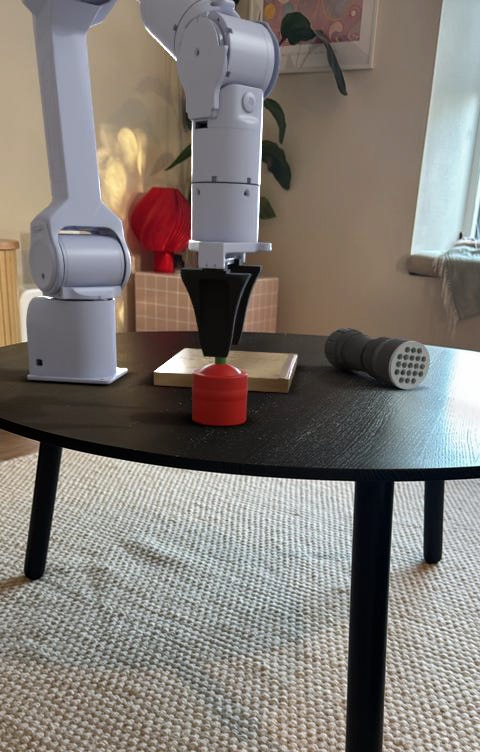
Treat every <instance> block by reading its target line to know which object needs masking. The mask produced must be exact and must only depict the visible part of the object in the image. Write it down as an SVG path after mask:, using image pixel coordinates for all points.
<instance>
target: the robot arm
mask: <svg viewBox="0 0 480 752" xmlns="http://www.w3.org/2000/svg"><path fill="white" fill-rule="evenodd" d="M118 1H119V0H21V3H22V4H23V5H24V7H26V9H27V10H28V11H29V12H30V13H31V18H32V28H33V29H32V30H33V37H34V46H35V47H34V48H35V55H36V57H35V58H36V65H37V73H38V74H37V75H38V83H39V94H40V101H41V102H40V103H41V111H42V119H43V129H44V139H45V147H46V156H47V157H46V158H47V166H48V167H47V168H48V173H49V174H48V175H49V185H50V195H51V201H50V202H49V203H48V205H46V206H45V207H44V208H43V209H42V210H41V211H39V213H38V214H37V215H35V216H34V218H33V219H32V220H31V221H30V223H29V229H30V230H29V231H30V233H29V234H30V243H29V244H30V245H29V246H30V247H29V251H28V265H29V266H28V267H29V271H30V275H31V278H32V281H33V282H34V284H35V286H37V289H39V291H40V292H41V293H42V295H40V296H34V297H32V298H31V299H30V300H29V303H28V305H27V309H26V317H25V318H26V319H25V323H26V325H25V327H26V343H27V355H28V356H27V357H28V369H29V374H27V375H26V378H27V380H28V381H29V380H30V381H43V382H44V381H46V382H60V383H61V382H62V383H63V382H64V383H78V384H79V383H80V384H96V385H97V384H98V385H110V384H112V383H113V382H115V381H116V380H118V379H119V378H121V377H122V376H124V375H126V374H127V373H128V368H127V367H118V366H117V363H118V362H117V359H118V357H117V327H116V326H117V324H116V323H117V322H116V320H117V319H116V299H115V298H121V297H122V291H123V290H124V289H125V287H126V286H127V284H128V282H129V279H130V276H131V272H132V258H131V254H130V249H129V247H128V245H127V242H126V239H125V235H124V228H123V222H122V220H121V219H120V218H119V217H118V216H117V214H116V213H114V212H113V211H112V210H111V209H110V208H109V207H108V206H107V205H106V204H105V203H104V202H103V200H102V194H101V185H100V184H101V183H100V182H101V181H100V172H99V163H98V161H99V160H98V150H97V139H96V129H95V118H94V106H93V95H92V85H91V74H90V64H89V53H88V42H87V35H88V32H89V30H90V29H91V27H94V26H96V25H98V24H101V23H103V22H104V21H105V20H106V19H107V17H108V15H109V14H110V12H111V11H112V10H113V8H114V7H115V5H116V3H117V2H118ZM136 2H138V3H139V9H140V10H139V12H140V18H141V21H142V24H143V26H144V28H145V29H146V31H147V32H148V33H149V34H150V35H151V36H152V37H153V38H154V39H155V40H156V41H157V43H159V45H161V46H162V47H163V49H164V50H165V51H166V52H168V54H169V55H170V56H171V57H172V58H173V59H174V60H175V61H176V71H177V76H178V80H179V83H180V85H181V87H182V89H183V91H184V95H185V113H187V118H188V120H190V121H191V213H190V214H191V220H190V221H191V222H190V223H191V226H190V227H191V229H190V237H191V238H190V239H189V240H188V250H189V251H192V252H197V255H198V261H197V263H198V264H197V267H181V268H180V270H179V271H180V272H179V274H180V278H181V281H182V283H183V285H184V287H185V290H186V291H187V295H188V296H189V299H190V302H191V305H192V308H193V312H194V316H195V321H196V322H195V323H196V327H197V333H198V339H199V344H200V349H202V353H203V356H204V357H221V358H227V357H228V354H229V351H231V347H232V346H239V345H240V342H241V340H242V335H243V331H244V327H245V321H246V317H247V311H248V306H249V303H250V299H251V296H252V293H253V290H254V288H255V286H256V283H257V281H258V279H259V277H260V275H261V273H262V270H263V269H262V268H263V266H262V265H259V264H243V263H246V254H258V253H260V252H271V251H272V245H273V244H272V243H271V242H259V222H260V221H259V220H260V193H261V172H262V171H261V170H262V145H263V144H262V141H263V119H264V117H263V116H264V115H263V113H264V101H265V100H266V99H267V98H268V97H269V96H270V94H271V93H272V92H273V90H274V87H275V86H276V84H277V80H278V79H279V74H280V69H281V48H280V44H279V41H278V38H277V36H276V34H275V33H274V32H273V30H272V28H271V27H270V24H269V23H268V22H266V21H263V20H258V19H253V20H252V19H251V20H247V19H243V18H241V16H240V15H239V14H238V12H237V11H236V10H235V9H236V8H235V7H236V3H235V1H234V0H136ZM60 231H61V232H62V231H64V232H63V233H61V232H60ZM65 232H87V233H65Z"/></svg>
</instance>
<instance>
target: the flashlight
mask: <svg viewBox="0 0 480 752" xmlns="http://www.w3.org/2000/svg"><path fill="white" fill-rule="evenodd" d="M324 355H325V358H326V360H327V362H328V363H329V364H330V365H331V366H332V367H334V368H336V369H339V370H342V371H346V372H347V371H349V372H350V371H355V372H363V373H366V374H367V375H368V376H370V377H371V378H372V379H375V380H379V381H381V382H382V383H384V384H386V385H388V386H392V387H396V388H399V389H402V390H412V389H414V388H417V387H418V386H419V385H420V384H422V383H423V382H424V380H425V379H426V377H427V375H428V373H429V370H430V366H431V357H430V353H429V351H428V349H427V347H426V346H425V345H424V344H423V343H422V342H419V341H417V340H411V339H405V338H401V337H396V338H391V337H387V336H379V337H377V338H376V337H372V336H370V335H368V334H364V333H363V332H362V331H360V330H358V329H355V328H349V327H347V328H346V327H342V328H338V329H336V330H334V331H333V332H332V333H330V335H328V337H327V338H326V340H325V343H324Z"/></svg>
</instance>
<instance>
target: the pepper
mask: <svg viewBox="0 0 480 752" xmlns="http://www.w3.org/2000/svg"><path fill="white" fill-rule="evenodd" d="M247 379H248V374H247V372H245V371H242V370H238V369H237V368H235V367H234V366H232V365H230V364H227V363H226V358H221V357H215V363H212V364H209V365H207V366H205V367H204V368H202V369H197V370H194V371H193V385H192V387H191V396H192V397H191V398H192V402H191V403H192V406H191V408H192V409H191V410H192V411H191V419H192V421H193V422H195V423H197V424H200V425H205V426H212V427H231V426H238V425H242V424H243V423H245V422H246V420H247V405H248V403H247V401H248V393H249V392H248V390H247Z"/></svg>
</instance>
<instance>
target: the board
mask: <svg viewBox="0 0 480 752" xmlns="http://www.w3.org/2000/svg"><path fill="white" fill-rule="evenodd" d="M212 363H215V357H204V356H203V353H202V349H201V348H188V347H184V348H183V349H182V350H180V351H179V352H177V353H176V354H174V356H172V358H170V359H169V360H167V361H166V362H165V363H164V364H162V365H161V366H159V367H158V368H157V369H156V370H153V385H154V386H164V387H179V388H180V387H181V388H192V385H193V371H194V370H197V369H202V368H204V367H205V366H207V365H209V364H212ZM226 363H227V364H230V365H232V366H234V367H235V368H237V369H238V370H242V371H245V372H247V374H248V379H247V390H248V391H249V392H263V393H265V392H266V393H281V394H282V393H283V394H288V393H289V390H290V387H291V385H292V382H293V381H292V380H293V379H294V376H295V372H296V369H297V366H298V353H292V352H289V353H284V352H283V353H282V352H266V351H265V352H262V351H246V350H245V351H243V350H230V351H229V354H228V357H227V358H226Z"/></svg>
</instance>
